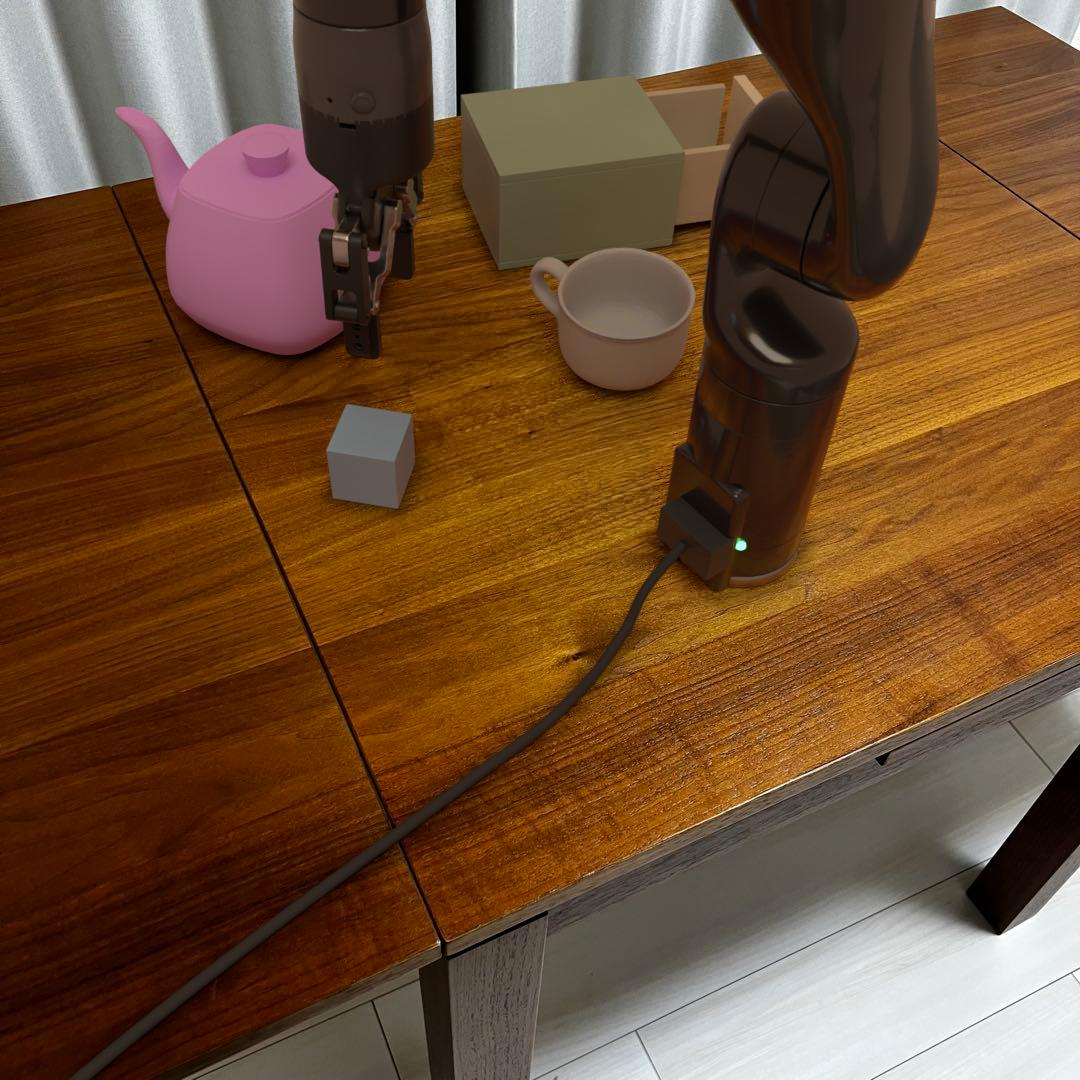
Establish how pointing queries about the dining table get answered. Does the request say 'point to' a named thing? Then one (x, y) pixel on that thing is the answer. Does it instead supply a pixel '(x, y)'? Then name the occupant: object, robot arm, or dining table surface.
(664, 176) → the cabinet
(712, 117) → the drawer
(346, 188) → the robot arm
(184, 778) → the dining table surface
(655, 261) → the teacup
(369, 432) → the block
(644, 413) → the dining table surface
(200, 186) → the teapot
